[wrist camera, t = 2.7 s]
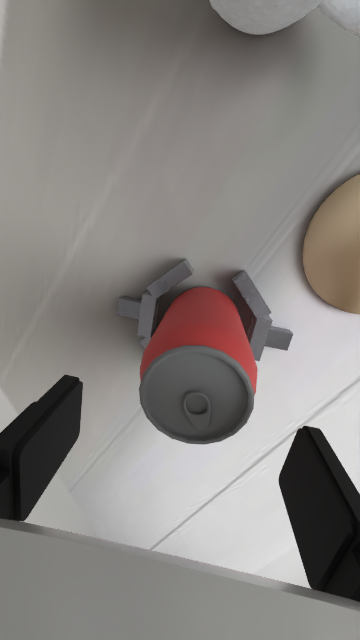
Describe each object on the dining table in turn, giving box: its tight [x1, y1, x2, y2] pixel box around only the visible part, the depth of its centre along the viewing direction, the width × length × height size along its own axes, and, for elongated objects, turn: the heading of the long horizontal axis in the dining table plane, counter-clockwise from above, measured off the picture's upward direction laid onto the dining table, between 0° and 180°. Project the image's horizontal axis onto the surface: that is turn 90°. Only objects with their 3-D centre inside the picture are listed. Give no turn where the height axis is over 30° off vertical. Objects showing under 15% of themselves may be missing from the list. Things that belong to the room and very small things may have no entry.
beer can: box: [139, 287, 257, 444], centre depth 18 cm, size 7×7×12 cm
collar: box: [117, 259, 293, 361], centre depth 23 cm, size 16×10×2 cm
